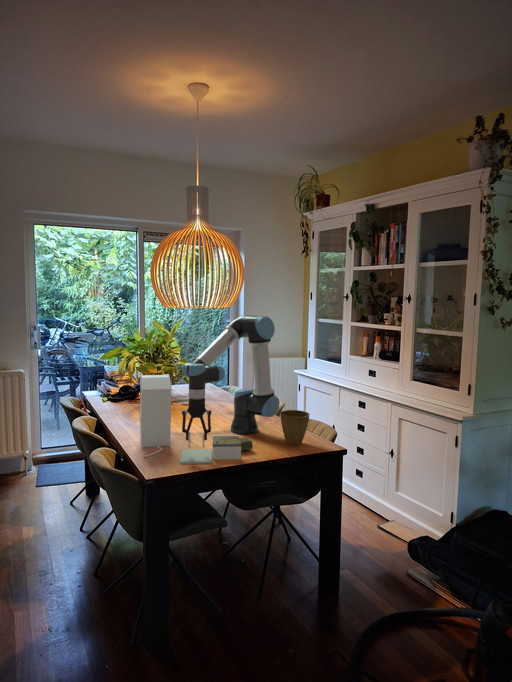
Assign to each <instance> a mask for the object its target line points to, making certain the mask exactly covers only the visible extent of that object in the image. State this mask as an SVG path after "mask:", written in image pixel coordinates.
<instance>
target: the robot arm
mask: <svg viewBox="0 0 512 682" xmlns="http://www.w3.org/2000/svg"><path fill="white" fill-rule="evenodd" d="M275 329H276V328H275V323H274V321H273V319H271V318H270V317H269V316H267V315H266V316H264V315H251V314H250V315H249V314H244V315H240V316H239V317H235V319H233V320H232V321H230V322H229V323H228V324H227V325H226V326H225V327H224V328H223V331H222V333H220V334H219V336H217V337H216V339H214V341H212V342H211V343H210V345H209V346H207V348H206V349H204V351H202V353H200V354H199V356H198V357H196V358H195V359H194V360H193V361H192V362H186V363H184V364H183V365H182V369H181V373H182V375H183V376H184V378H186V379H188V397H189V398H188V406H187V407H188V408H187V409H182V411H181V414H182V423H181V424H182V425H181V428H182V429H181V432H182V433H185V441H188V443H187V444H188V446H187V449H190V448H191V432H190V429H191V426H192V424H193V421H194V419H196V418H197V419H199V420H200V422H201V426H202V430H203V432H202V449H205V441H207V440H208V434H209V433H211V431H212V425H211V424H212V423H211V415H212V410H211V409H209V410H208V409H207V407H206V398H205V397H206V384H210V383H219V382H221V381H223V380H224V379H225V376H226V372H225V369H224V368H223V366H221V365H213V364H214V362H215V361H217V359H219V358H220V357H221V356H222V355H223V353H225V351H226V350H228V348H230V346H231V345H232V344H233V343H234V342H238V341H239V340H241V339H242V338H248V344H250V345H251V352H252V354H251V355H252V366H253V377H254V378H253V380H254V388H243V389H237V390H235V392H234V398H233V407H234V408H233V414H234V415H233V419H232V422H231V425H230V431H231V433H234V434H237V435H242V434H243V435H251V434H255V433H258V431H259V426H258V422H257V419H256V416H260V417H263V418H264V417H265V418H272V417H274V416H275V415H276V414H277V412H278V411H279V408H280V399H279V397H278V396H277V395H275V390H274V389H273V388H272V384H271V383H272V381H271V380H272V379H271V368H270V367H271V366H270V355H269V354H270V351H269V344H270V343H271V341H272V340H271V339H272V338H273V337H274V334H275V331H276V330H275ZM205 414H206V415H207V426H206V423H205V418H204V416H203V415H205ZM187 415H190V418H189V422H188V425H187V427H186V423H187V422H186V418H187Z"/></svg>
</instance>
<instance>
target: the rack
mask: <svg viewBox="0 0 512 682" xmlns="http://www.w3.org/2000/svg"><path fill="white" fill-rule="evenodd" d="M237 438H240V434H237V435H236V434H229V435H228V434H223V435H222V434H215V435H214V434H213V435H212V460H216V461H217V460H242V451H241V443H216V441H223V440H230V439H237Z"/></svg>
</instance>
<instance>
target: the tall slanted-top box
mask: <svg viewBox="0 0 512 682" xmlns="http://www.w3.org/2000/svg"><path fill="white" fill-rule="evenodd" d="M170 375H171V374H169V373H166V374H149V375H148V374H147V375H145V374H144V375H142V374H139V388H140V398H139V399H140V402H139V404H140V405H139V406H140V408H139V412H138V413H139V435H140V436H139V440H140V447H141V449H143V448H151V447H157V448H158V450H156V451H153V452H152V453H150V454H147V455H142V458H148V457H152V456H153V455H155V454H158V453H160V452H162V451H163V450H164V449H163V448H162V447H166V446H169V447H170V446H171V434H172V433H171V429H172V428H171V427H172V425H171V424H172V423H171V422H172V384H171V376H170Z"/></svg>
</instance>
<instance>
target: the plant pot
mask: <svg viewBox="0 0 512 682" xmlns="http://www.w3.org/2000/svg"><path fill="white" fill-rule="evenodd" d="M279 414H280V422H281V429H282V433H283V436H284V439H285V442H286V444H287V445H288V446H291V447H292V446H293V447H298V446H301V445H302V442H303V441H304V438H305V435H306V432H307V428H308V423H309V420H310V413H309V412H307V411H304V410H299V409H298V410H297V409H286V410H282V411H280V413H279Z"/></svg>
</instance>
